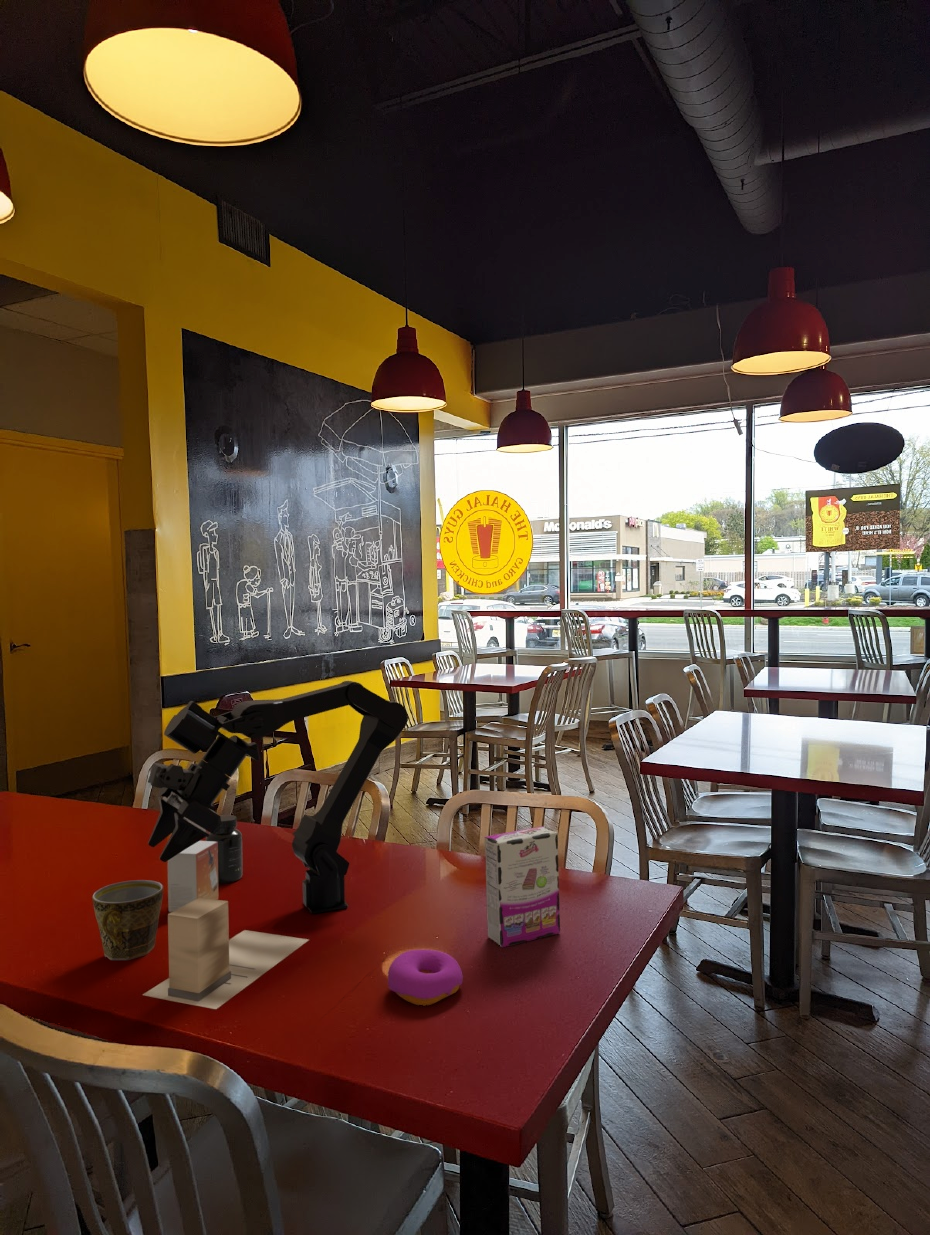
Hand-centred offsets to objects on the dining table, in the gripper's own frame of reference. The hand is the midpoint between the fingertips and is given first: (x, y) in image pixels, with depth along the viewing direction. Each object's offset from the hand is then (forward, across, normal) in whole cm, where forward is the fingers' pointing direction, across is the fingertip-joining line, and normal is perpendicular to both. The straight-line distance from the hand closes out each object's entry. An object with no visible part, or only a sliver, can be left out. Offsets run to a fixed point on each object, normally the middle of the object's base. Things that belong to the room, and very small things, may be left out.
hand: (155, 853), depth 129 cm
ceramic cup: (+15, +4, +5) cm, 16 cm away
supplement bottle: (+1, -24, +22) cm, 33 cm away
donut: (-6, +37, +31) cm, 49 cm away
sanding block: (+10, +21, +10) cm, 25 cm away
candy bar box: (-19, +30, +48) cm, 60 cm away
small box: (+6, -13, +16) cm, 22 cm away
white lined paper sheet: (+7, +17, +14) cm, 23 cm away
